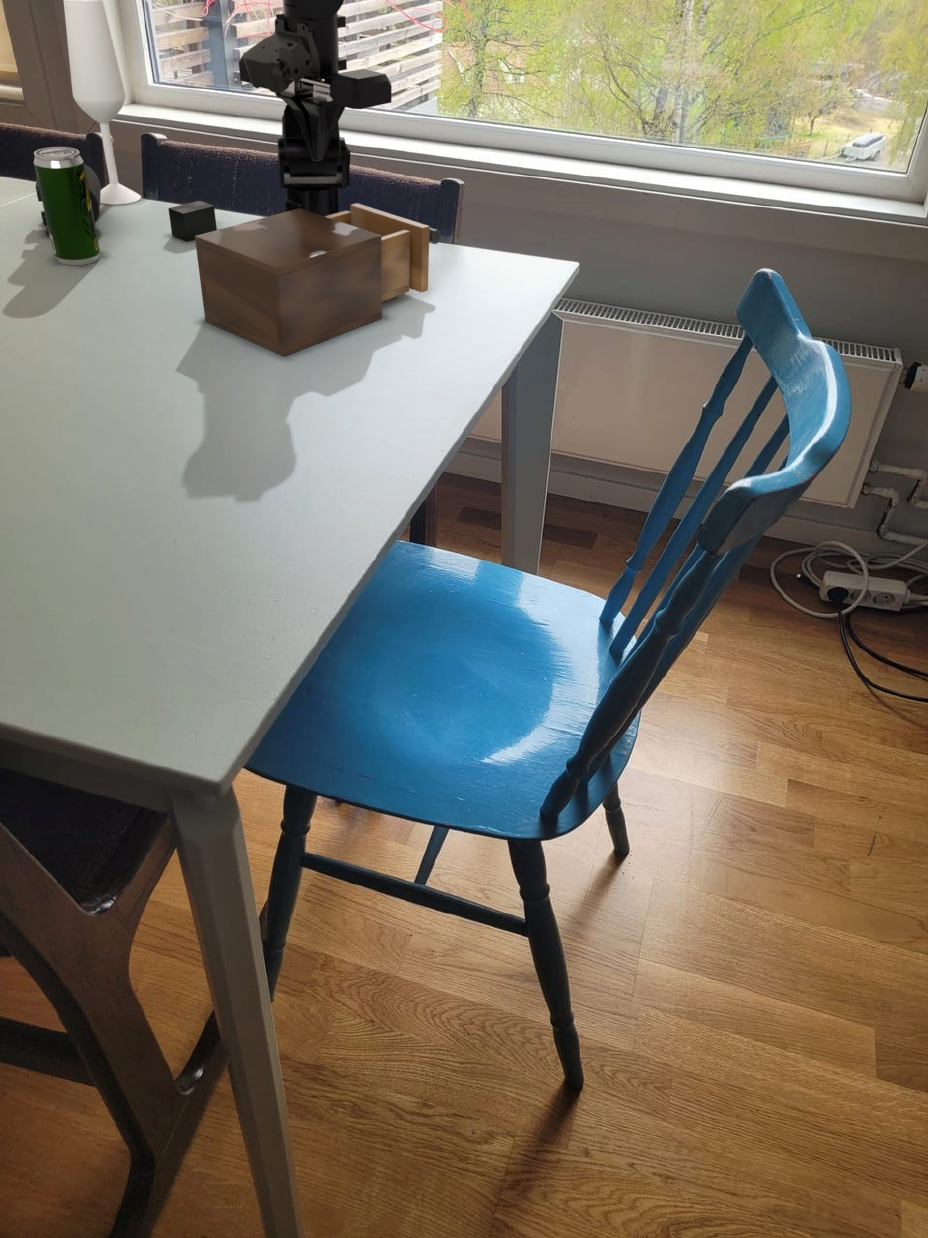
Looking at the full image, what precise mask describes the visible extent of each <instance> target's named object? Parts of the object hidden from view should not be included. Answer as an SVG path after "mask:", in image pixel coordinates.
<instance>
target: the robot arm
mask: <svg viewBox="0 0 928 1238" xmlns="http://www.w3.org/2000/svg"><path fill="white" fill-rule="evenodd" d="M344 1H345V0H282V8H283V13H278V14H275V19H274V33H273V34H272V35H270V36H267V37H265V38H263V39H262V40H261V41H259V42H258V43H255V45H253V46H252V47H250V48H249V49H247V51H245V52H243V54H242V56H241V58H240V59H239V61H238V69H239V81H240V82H243V83H248V84H251V86H252V87H253V88H255V89H259V88H262V89H264V90H265V89H266V90H269V91H270V92H271V93H274V95H275V96H276V98H278V99H281V101H283V102H284V103H285V104H286V105H285V107H284V110H283V114H282V116H281V136H277V137H276V138H277V139H276V141H277V142H276V143H277V145H276V146H277V147H276V148H277V169H278V180H279V186H280V190H286V199H285V212H287V211H291V210H295V209H299V208H301V209H304V210H307V211H310V212H313V213H316V214H319V215H322V216H328V215H332V214H335V213H339V212H340V211H339V189H341V190H347V187H348V186H350V181H351V180H350V179H351V178H350V171H351V170H350V168H351V149H350V148H349V147H348V145H347V142H346V138H345V137H344V136H341V135H340V124H339V121H340V119H341V117H342V115H343V113H344V111H345V109H347V108H348V109H351V110H364V109H369V108H373V107H377V106H381V105H382V106H383V105H386V104H391V103H392V98H393V97H392V96H393V95H392V94H393V93H392V90H393V89H392V88H393V87H392V82H391V80H390V78H389V77H388V75H387V73H383V72H378V71H374V70H370V69H365V68H361V69H355V70H349V71H346V70H347V69H348V63H347V60H348V59H347V58H343V57H340V50H339V29H343V28H347V17H346V15H341V14H338V12H339V11H340V9H341V7H342V6H343V4H344ZM341 71H342V72H341ZM343 71H344V72H343Z"/></svg>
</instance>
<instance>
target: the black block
mask: <svg viewBox="0 0 928 1238" xmlns="http://www.w3.org/2000/svg"><path fill="white" fill-rule="evenodd" d="M168 216H169V222H170V223H169V224H170V231H171V236H172V237H173V238H176V239H179V240H181V241H184V242H190V241H195V236H197V235H201V234H205V233H208V232H212V231H216V230H218V229H217V221H216V209H215V205H213V204H210V203H207V202H204V201H201V200H197V201H193V202H189V203H185V204H180V205H176V206H172V207H168Z"/></svg>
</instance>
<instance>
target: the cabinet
mask: <svg viewBox="0 0 928 1238" xmlns="http://www.w3.org/2000/svg"><path fill="white" fill-rule="evenodd" d="M194 241H195V249H196V250H195V251H196V256H197V257H196V258H197V264H198V265H197V266H198V273H199V281H200V289H201V299H202V307H203V314H204V321H205V323H208V324H210V325H211V326H214V327H216V328H219V329H221V330H223V331H225V332H228V333H230V334H232V335H234V336H236V337H239V338H241V339H243V340H246V341H248V342H250V343H253V344H255V345H257V346H259V347H262V348H264V349H266V350H267V351H270V352H273V353H275V354H278V355H280V356H282V357H287V356H288V355H292V354H294V353H297V352H300V351H302V350H304V349H308V348H310V347H312V346H315V345H317V344H320V343H323V342H325V341H328V340H330V339H333V338H335V337H338V336H341V335H343V334H346V333H348V332H351V331H353V330H356V329H359V328H361V327H364V326H366V325H369V324H371V323H374V322H377V321H379V320H382V318H383V312H382V311H383V304H382V303H383V301H382V257H381V235H378V234H375V233H372V232H369V231H366V230H363V229H360V228H357V227H355V226H352V225H349V224H346V223H343V222H340V221H337V220H334V219H331V218H328V217H325V216H322V215H319V214H316V213H313V212H310V211H307V210H304V209H301V208H299V209H295V210H291V211H287V212H286V211H284V212H281V213H277V214H272V215H269V216H265V217H261V218H258V219H254V220H250V221H246V222H243V223H239V224H235V225H232V226H228V227H223V228H220V229H217V230H216V231H212V232H208V233H205V234H201V235H197V236H195V239H194Z"/></svg>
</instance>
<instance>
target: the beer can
mask: <svg viewBox="0 0 928 1238" xmlns="http://www.w3.org/2000/svg"><path fill="white" fill-rule="evenodd" d="M33 155H34V160H33V165H34V170H35V175H36V181H37V180H38V184H39V189H40V194H41V198H42V201H41V202H42V207H43V211H44V212H45V217H46V221H47V226H48V230H49V235H50V237H49V239H50V244H51V249H52V253H53V256H54V258H55V259H56V260H57V262H58V263H60V264H62V265H66V266H84V265H85V266H86V265H90V264H93V263H95V262H97V261H98V260H99V258H100V256H101V255H100V254H101V247H100V243H99V242H100V241H99V237H98V231H97V227H96V223H95V221H94V215H93V210H92V205H91V199H90V194H89V189H88V183H87V178H86V173H85V167H84V164H85V162H84V159H83V158H82V157H81V153H80V151H79V149H77V148H73V147H67V146H51V147H44V148H43V147H42V148H39V149H37V150H35V151H34V152H33Z"/></svg>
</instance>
